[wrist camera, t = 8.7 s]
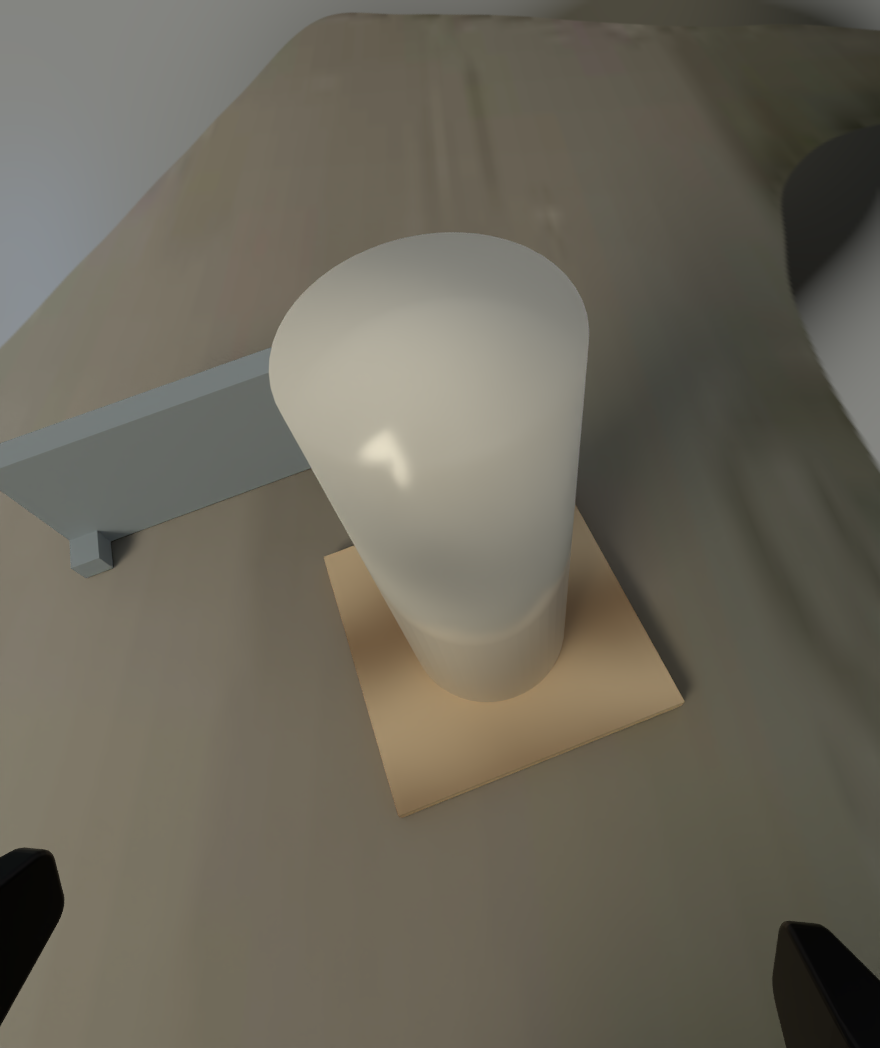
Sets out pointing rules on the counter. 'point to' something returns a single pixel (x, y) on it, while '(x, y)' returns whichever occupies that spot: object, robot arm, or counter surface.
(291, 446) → the screen
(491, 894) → the counter surface
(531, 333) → the canister
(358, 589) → the mat
